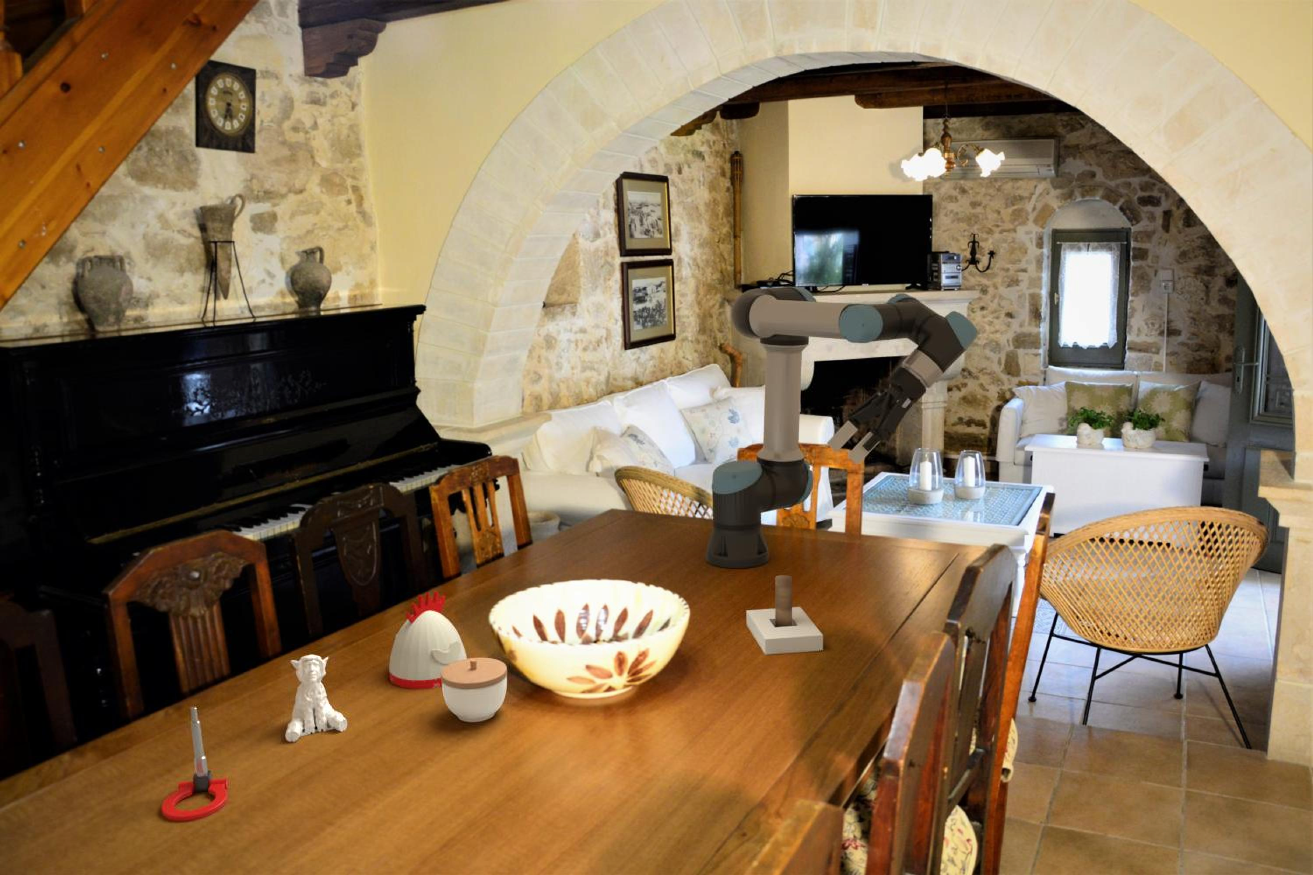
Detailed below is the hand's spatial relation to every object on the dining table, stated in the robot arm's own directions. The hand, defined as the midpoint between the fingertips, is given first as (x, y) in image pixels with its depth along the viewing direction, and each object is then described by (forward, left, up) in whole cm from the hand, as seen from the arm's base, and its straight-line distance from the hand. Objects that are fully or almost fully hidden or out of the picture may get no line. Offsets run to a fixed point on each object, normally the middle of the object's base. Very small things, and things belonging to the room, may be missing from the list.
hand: (841, 454), depth 215 cm
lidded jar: (+38, -74, -33) cm, 89 cm away
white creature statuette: (+38, -100, -33) cm, 112 cm away
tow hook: (+60, -112, -33) cm, 131 cm away
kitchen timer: (+19, -83, -33) cm, 91 cm away
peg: (+14, -16, -33) cm, 39 cm away
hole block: (+14, -16, -33) cm, 39 cm away
